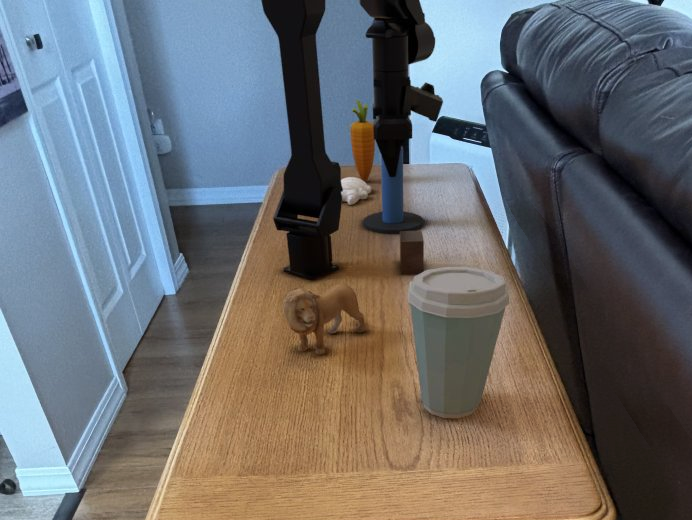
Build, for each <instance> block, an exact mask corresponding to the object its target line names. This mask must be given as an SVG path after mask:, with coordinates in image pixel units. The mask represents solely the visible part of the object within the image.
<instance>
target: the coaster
mask: <svg viewBox="0 0 692 520" xmlns="http://www.w3.org/2000/svg"><path fill="white" fill-rule="evenodd" d="M424 222H425V221H424V217H422V216H421V215H419V214H416V213H414V212H410V211H403V221H402V222H400V223H386V222H383V218H382V211H380V212H375V213H372V214H369V215H367V216H365V217H364V218H363V220H362V225H363V227H364V228H365V229H367V230H369V231H371V232H374V233H379V234H381V233H382V234H400V231H418V229H420V228H422V227H423V226H424Z"/></svg>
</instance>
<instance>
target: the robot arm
mask: <svg viewBox="0 0 692 520" xmlns="http://www.w3.org/2000/svg"><path fill="white" fill-rule="evenodd" d="M260 2H261V5H262V11H263V13H264V15H265V17H266V19H267V21H268V23H269V24H270V25H271V27H272V29H273V31H274V32H275V34H276V36H277V39H278V46H279V55H280V65H281V72H282V83H283V90H284V91H283V93H284V99H285V100H284V101H285V108H286V109H285V110H286V118H287V127H288V134H289V135H288V136H289V144H290V151H291V152H290V158H289V160H288V163H287V165H286V167H285V169H284V172H283V175H282V177H283V178H282V179H283V192H282V194H281V195H280V199H279V202H278V204H277V207H276V209H275V212H274V215H273V223H274V226H275V228H276V231H280V232H281V231H282V232H286V243H287V251H288V261H289V265H287V266H285V267H283V268H282V269H283V272H284V273H288V274H290V275H293V276H296V277H300V278H304V279H306V280H311V281H313V280H316V279H318V278H321V277H323V276H325V275H328V274H330V273H332V272H334V271H337V270H338V269H340V264H337V263H333V248H332V247H333V246H332V236H331V235H332V234H334V233H337V232H338V231H339V230H340V221H341V213H342V207H343V201H342V194H341V192H343V188H342V185H341V180H342V167H341V166H340V163H339V162H337V161H332V160H331V159H330V157H329V156H328V154H327V151H326V141H325V131H324V119H323V107H322V96H321V84H320V71H319V60H318V59H319V58H318V49H317V48H318V47H317V32H318V30H319V27H320V26H321V22H322V20H323V17H324V15H325V12H326V0H260ZM359 5H360V6H361V8H362V9H363V11H365V12H366V13H367V15H368V16H369V17H370V18H373V21H372V23H371V25H370V26H369V27H368V29H367V30H366V31H365V37H366V39H371V45H372V46H371V49H372V80H373V81H372V82H373V103H372V120H373V121H372V124H373V131H374V139H375V144H376V145H377V148H378V150H379V153H380V157H381V156H382V158H383V161H384V163H385V166H386V169H387V171H388V174H389V176H390V177H396V173H397V167H398V162H399V156H400V151H401V146H402V147H403V145H404V144H405V142H407V141H408V140H412V139H413V122H412V119H410V118H409V116H412V113H415V114H417V115H420V116H421V117H422V116H423V117H425V118H428V120H429V121H432V122H438V119H439V116H440V113H441V111H442V110H441V109H442V107H443V105H444V104H443V103H444V100H443V98H442V97H441V96H440V95H439V94H436V92H435V86H434V85H433V84H431V83H429V82H426V81H425V82H424V83H423V84H422V85H421V87H418V86H414V85H412V80H411V79H410V76H409V65H412V64H416V63H419V62H423V61H425V60H428V59H429V58H430V57H431V56H432V54H433V53H434V51H435V47H436V37H435V33H434V31H433V28H432V27H431V26H430V24H428V22H426V15H425V12H424V11H423V7H422V5H421V2H420V0H359ZM299 216H302V217H307V218H313V219H317V220H310V219H305V218H300V217H299Z"/></svg>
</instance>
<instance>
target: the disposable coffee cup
mask: <svg viewBox="0 0 692 520" xmlns="http://www.w3.org/2000/svg"><path fill="white" fill-rule="evenodd" d="M408 285H409V286H408V287H409V288H408V290H407V302H408V303H409V306H410V316H411V324H412V331H413V340H414V349H415V356H416V365H417V373H418V382H419V388H420V391H419V392H420V399H421V403H422V404H423V408H424V409H425V410H426V411H427V412H429V414H431V415H434V416H436V417H440V418H443V419H462V418H466V417H468V416H471V415H473V414H474V413H475V412H476V411H477V410H478V407H479V405H480V404H481V403H482V399H483V395H484V392H485V387H486V383H487V380H488V376H489V372H490V368H491V365H492V361H493V356H494V354H495V349H496V345H497V341H498V337H499V335H500V330H501V326H502V323H503V318H504V315H505V312H506V307H508V306H509V305H510V292H509V287H508V285H507V283H506V281H505V278H504V276H503V275H500V274H498V273H496V272H493V271H491V270H487V269H482V268H478V267H471V266H442V267H437V268H431V269H426V270H423V272H422V273H420V274H417V275H416V274H415V276H414V277H413V279H412V280H411V281H410V282H409V284H408Z"/></svg>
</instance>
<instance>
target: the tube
mask: <svg viewBox="0 0 692 520" xmlns="http://www.w3.org/2000/svg"><path fill="white" fill-rule="evenodd" d="M380 165H381V166H380V167H381V168H380V169H381V171H380V172H381V212H382V218H383V222H386V223H400V222H402V221H403V212H404V147H403V145H402V146H401V151H400V156H399V162H398V167H397V173H396V177H390V176H389V174H388V171H387V169H386V166H385V163H384V161H383V158H382V156H381V155H380Z"/></svg>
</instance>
